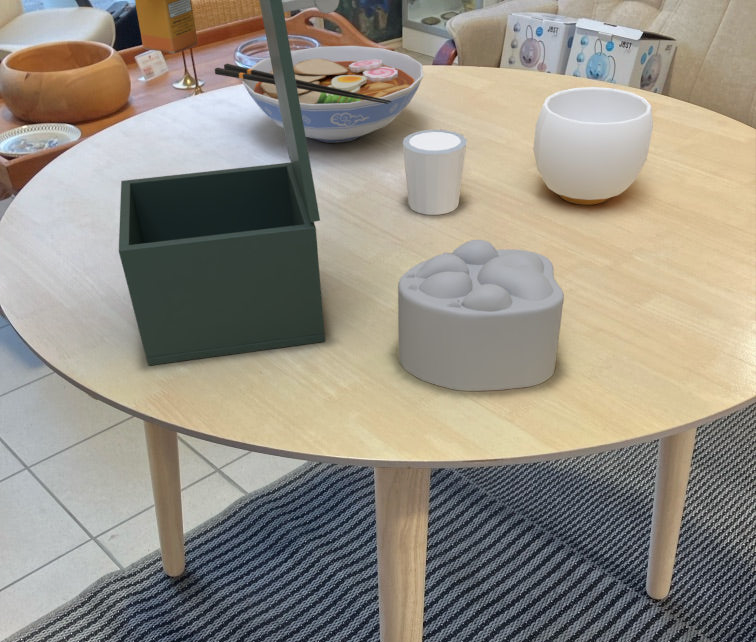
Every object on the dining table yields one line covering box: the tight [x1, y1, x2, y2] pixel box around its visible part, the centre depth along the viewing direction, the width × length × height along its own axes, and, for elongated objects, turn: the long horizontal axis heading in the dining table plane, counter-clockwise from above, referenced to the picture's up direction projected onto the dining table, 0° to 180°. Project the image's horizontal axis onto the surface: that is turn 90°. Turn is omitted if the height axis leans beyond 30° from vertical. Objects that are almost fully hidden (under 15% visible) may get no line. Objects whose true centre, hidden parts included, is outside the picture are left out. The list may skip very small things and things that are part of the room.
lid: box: [258, 0, 340, 223], centre depth 68 cm, size 16×14×5 cm
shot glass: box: [402, 129, 468, 216], centre depth 93 cm, size 7×7×7 cm
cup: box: [532, 86, 654, 206], centre depth 93 cm, size 12×12×10 cm
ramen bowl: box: [214, 45, 424, 144], centre depth 109 cm, size 25×23×8 cm
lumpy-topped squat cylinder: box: [397, 239, 565, 392], centre depth 71 cm, size 10×13×9 cm
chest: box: [118, 161, 326, 366], centre depth 76 cm, size 16×14×11 cm
